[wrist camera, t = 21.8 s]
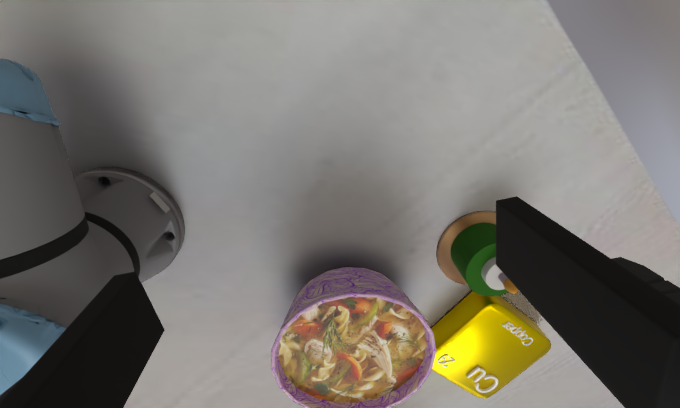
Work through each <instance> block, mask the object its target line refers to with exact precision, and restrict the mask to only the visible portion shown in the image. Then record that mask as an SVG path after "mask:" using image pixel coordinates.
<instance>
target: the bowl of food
mask: <svg viewBox="0 0 680 408" xmlns="http://www.w3.org/2000/svg"><path fill="white" fill-rule="evenodd" d="M435 356H436V346H435V340H434V333H433V331H432V330H431V328H430V327H429V325H428V323H427V322H426V320H425V319H424V317H423V316H422V314H421V313H420V312H419V311H418V309H417V308H416V307H415V306H414V305H413V303H412V302H411V301H410V300H409V298H408V297H407V296H406V295H405V294H404V292H403V291H402V290H401V289H400V288H399V287H398V286H397V285H396V284H395V283H394V282H392V281H391V280H389V279H388V278H387V277H385V276H384V275H383V274H381V273H378V272H375V271H372V270H369V269H366V268H356V267H343V268H339V269H334V270H330V271H326V272H325V273H323V274H321V275H319V276H317V277H315V278H314V279H312V280H310V281H309V282H308V283H307V284H306V285H305V286H304V287H303V288H302V289H301V290H300V291H299V293H298V294H297V296H296V297H295V299H294V301H293V303H292V305H291V307H290V309H289V312H288V314H287V316H286V318H285V320H284V323H283V325H282V327H281V329H280V331H279V334H278V336H277V338H276V340H275V342H274V345H273V347H272V358H271V370H272V372H273V374H274V376H275V379H276V381H277V383H278V386H279V387H280V388H281V389H282V390H283V391H284V392H285V393H286V394H287V395H288V396H289V397H290V398H291V399H292V400H293V401H294V402H296V403H298V404H299V405H301V406H303V407H305V408H390V407H392V406H394V405H396V404H399V403H401V402H403V401H404V400H405V399H406V398H408V397H409V396H410V395H411V394H413V393H414V392H415V391H416V390H418V389H419V388H420V387H421V385H422V384H423V382H424V381H425V380H426V378H427V377H428V375H429V374H430V372H431V371H432V367H433V363H434V360H435Z"/></svg>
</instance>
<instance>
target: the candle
mask: <svg viewBox="0 0 680 408" xmlns="http://www.w3.org/2000/svg"><path fill="white" fill-rule="evenodd" d="M451 259H452V261H453V263H454V265H455V266H456V268H457V269H458V271H459V272H460V274H461V275H462V277H463V278H464V280H465V281H466V283H467V284H468V286H469V287H470V288H471V289H472V290H473V291H474V292H475V293H477V294H480V295H483V296H499V295H502V294H505V293H507V292H510V293H513V294H516V293H518V289H517V288H516V286H515V285H514V284H513V283H512V282H511V281H510V280H509V279H508V278H507V277H506V275H505V274H504V273H503V272H502V271H501V270H500V269H499V268H498V267H497V265H496V225H495V224H492V223H485V222H483V223H477V224H473V225H471V226H469V227H467V228H465V229H464V230H462V231H461V232H460V233H459V234H458V235H457V237H456V238H455V239H454V241H453V243H452V246H451Z"/></svg>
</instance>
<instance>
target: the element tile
mask: <svg viewBox="0 0 680 408" xmlns="http://www.w3.org/2000/svg"><path fill="white" fill-rule="evenodd" d="M431 330H432V331H433V333H434V340H435V346H436V356H435V360H434V363H433V367H432V370H433V371H435V372H436V373H438V374H440V375H441V376H443V377H445V378H446V379H448V380H450V381H451V382H453V383H455V384H456V385H458V386H460V387H461V388H463V389H465V390H466V391H468V392H470V393H471V394H473V395H475V396H476V397H479V398H488V397H490V396H492V395H493V394H495V393H496V392H497V391H499V390H500V389H501V388H502V387H504V386H505V385H506V384H508V383H509V382H510V381H512V380H513V379H514V378H515V377H517V376H518V375H519V374H521V373H522V372H523V371H524V370H526V369H527V368H528V367H530V366H531V365H532V364H533V363H535V362H536V361H537V360H539V359H540V358H541V357H542V356H544V355H545V354H546V353H547V352H548V351H549V350H550V348H551V343H550V340H549V339H548V338H547V337H546V336H545V334H544V333H543V332H542V331H541V329H540V328H539V327H538V326H537V325H536V323H535V322H534V321H532V320H531V319H530V318H528V317H527V316H526V315H524V314H523V313H522V312H520V311H519V310H518V309H516V308H515V307H514V306H512V305H511V304H510V303H509V302H507V301H506V300H505V299H503V298H502V297H501V296H483V295H480V294H477V293H475V292H474V291H472V292H471V293H470V294H469V295H467V296H466V297H465V298H464V299H463V300H462V301H461V302H460V303H459V304H457V305H456V306H455V307H454V308H453V309H452V310H451V311H450V312H449V313H448V314H446V315H445V316H444V317H443V318H442V319H441V320H440V321H439V322H438V323H436V324H435V325H434V326H433V327H432V328H431Z"/></svg>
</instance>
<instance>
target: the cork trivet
mask: <svg viewBox="0 0 680 408" xmlns="http://www.w3.org/2000/svg"><path fill="white" fill-rule="evenodd" d="M483 222H485V223H492V224H495V225H496V212H492V211H479V212H474V213H470V214H467V215H465V216H463V217H461V218H459V219H458V220H456V221H455V222H454V223H452V224H451V225H450V226H449V227H448V228H447V229H446V231H445V232H444V233H443V235H442V236H441V238H440V241H439V243H438V247H437V261H438V265H439V267H440V269H441V270H442V272H443V273H444V274H445V275H446V276H447V277H448V278H449V279H451V280H453V281H455V282H457V283H461V284H467V283H466V281H465V280H464V278H463V277H462V275H461V274H460V272H459V271H458V269H457V268H456V266H455V265H454V263H453V261H452V259H451V246H452V243H453V241H454V239H455V238H456V237H457V235H458V234H459V233H460V232H461V231H462V230H464V229H465V228H467V227H469V226H471V225H473V224H477V223H483ZM467 285H468V284H467Z"/></svg>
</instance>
